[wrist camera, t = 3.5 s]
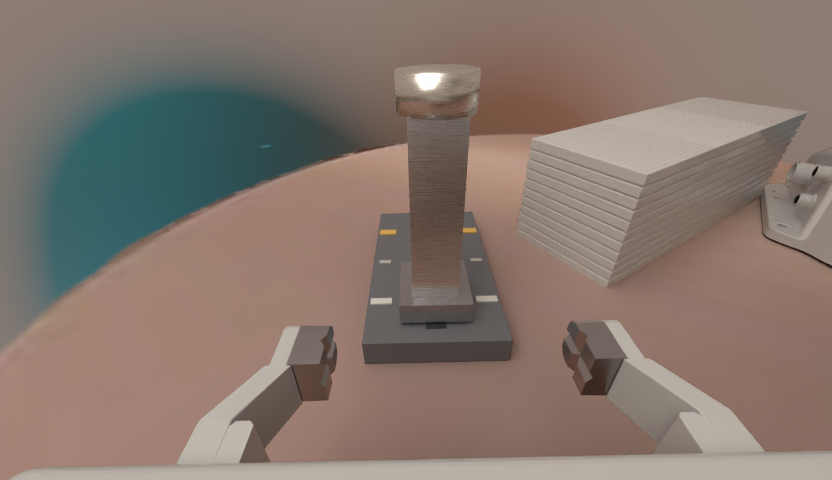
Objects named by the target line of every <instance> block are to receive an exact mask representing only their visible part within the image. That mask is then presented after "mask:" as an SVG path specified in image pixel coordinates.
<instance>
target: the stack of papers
mask: <svg viewBox="0 0 832 480" xmlns="http://www.w3.org/2000/svg"><path fill="white" fill-rule="evenodd" d="M807 113H808V112H806V111H799V110H791V109H784V108H776V107H770V106H763V105H755V104H748V103H741V102H733V101H727V100H719V99H712V98H704V97H699V98H695V99H691V100H687V101H683V102H678V103H674V104H670V105H666V106H662V107H658V108H654V109H650V110H646V111H642V112H638V113H634V114H630V115H626V116H622V117H617V118H613V119H610V120H605V121H601V122H597V123H593V124H589V125H585V126H581V127H577V128H573V129H569V130H565V131H561V132H557V133H552V134H548V135H544V136H540V137H536V138H532V139H531V146H530V148H532V150H530V152H529V158H531V159H530V160H528V164H527V167H528V168H529V169H527V170H526V176H525V177H527V179H525V183H524V186H526V187H525V188H524V189H523V195H524V196H523V197H522V201H521V203H522V204H523V205H521V207H520V212H522V213H519V220H520V221H518V226H517V227H518V228H519V229H517V232H516V235H518V236H520V237H521V238H523V239H525V240H526V241H528V242H530V243H531V244H533V245H535V246H536V247H538V248H540V249H541V250H543V251H545V252H546V253H548V254H550V255H551V256H553V257H555V258H556V259H558V260H560V261H561V262H563V263H565V264H566V265H568V266H570V267H571V268H573V269H575V270H576V271H578V272H580V273H581V274H583V275H585V276H587V277H588V278H590V279H592V280H593V281H595V282H597V283H598V284H600V285H602V286H603V287H605V288H607V287H609V286H611V285H612V284H614V283H616V282H617V281H619V280H621V279H623V278H624V277H626V276H628V275H629V274H631V273H633V272H634V271H636V270H638V269H639V268H641V267H643V266H644V265H646V264H648V263H650V262H651V261H653V260H655V259H656V258H658V257H660V256H661V255H663V254H665V253H666V252H668V251H670V250H671V249H673V248H675V247H677V246H678V245H680V244H682V243H683V242H685V241H687V240H688V239H690V238H692V237H693V236H695V235H697V234H699V233H700V232H702V231H704V230H705V229H707V228H709V227H710V226H712V225H714V224H715V223H717V222H719V221H720V220H722V219H724V218H726V217H727V216H729V215H731V214H732V213H734V212H736V211H737V210H739V209H741V208H742V207H744V206H746V205H747V204H749V203H751V202H753V201H754V200H756V199H758V198H759V197H760V195H761V192H762V191H763V190H764V188H765V185H766V184H767V183H768V181H769V179H770V178H769V177H771V176H772V174H773V172H774V171H773V170H774V169H776V167H777V165H778V164H779V163H777V162H779V161H780V160H781V158H782V154H784V153H785V151H786V149H787V147H786V146H788V145H789V144H790V142H791V140H792V139H791V138H792V137H794V135H795V134H796V132H797V131H796V129H798V128H799V127H800V125H801V123H802V122H800V121H802V120H804V118H805V116H806V114H807Z"/></svg>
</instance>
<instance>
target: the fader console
mask: <svg viewBox="0 0 832 480" xmlns="http://www.w3.org/2000/svg"><path fill="white" fill-rule="evenodd" d="M461 260H464V262H465V267H466V271H467V276H468V280H469V285H470V290H471V294H472V299H473V303H474V307H473V317H472V322H428V323H400V311H399V298H400V272H401V262H411V231H410V213H399V214H381V219H380V226H379V232H378V239H377V246H376V253H375V260H374V266H373V273H372V280H371V287H370V294H369V300H368V307H367V314H366V321H365V328H364V334H363V341H362V347H363V353H364V360H365V364H367V363H411V362H454V361H497V360H509V357H510V352H511V347H512V342H513V340H512V337H511V333H510V330H509V327H508V324H507V321H506V318H505V314H504V311H503V308H502V305H501V302H500V299H499V295H498V292H497V289H496V286H495V283H494V280H493V276H492V273H491V270H490V267H489V264H488V261H487V257H486V254H485V251H484V248H483V245H482V241H481V238H480V235H479V232H478V229H477V226H476V222H475V219H474V216H473V213H472V212H464V223H463V239H462V254H461Z"/></svg>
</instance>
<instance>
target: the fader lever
mask: <svg viewBox="0 0 832 480" xmlns="http://www.w3.org/2000/svg"><path fill="white" fill-rule="evenodd" d="M394 73H395V94H396V95H395V96H396V112H397V114H399V115H401V116H404V117H407V134H408V166H409V199H410V231H411V262H401V272H400V298H399V311H400V323H428V322H472V317H473V307H474V303H473V299H472V294H471V290H470V285H469V280H468V276H467V271H466V267H465V262H464V260H461V254H462V239H463V223H464V208H465V193H466V177H467V162H468V147H469V131H470V116H472V115H474V114H476V113H477V111H478V99H479V86H480V74H481V69H480V68H478V67H475V66H468V65H456V64H427V65H413V66H405V67H400V68H397V69H395V70H394Z"/></svg>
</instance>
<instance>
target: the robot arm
mask: <svg viewBox="0 0 832 480" xmlns="http://www.w3.org/2000/svg"><path fill="white" fill-rule="evenodd" d="M786 182H788V183H792V184H787V183H774V184H766V185H765V188H764V190H763V191H762V192H761V195H760V199H761V211H762V223H763V233H764V235H765V236H767V237H768V238H770V239H773V240H775V241H777V242H780V243H783V244H785V245H788V246H791V247H793V248H796V249H799V250H802V251H804V252H806V253H808V254H810V255H812V256H814V257H816V258H818V259H819V260H821V261H823V262H825V263H827V264H829V265H831V266H832V147H831V148H828V149H825V150H823V151H820V152H817V153H815V154H813V155H812V156H811V157H810V158H809V159H808V160H807V162H806V163H803V162H796V163H795V164H794V165H793V166H792V167H791V169H790V171H789V173H788V175H787V178H786ZM567 330H568V332H569V335H568V336H567V337H565V338H564V341H563V345H562V346H563V356H564V360H565V362H566V364H567V366H568V367H569V368H570V369H572V370H573V371H574V374H573V380H574V382H575V384H576V386H577V388H578V390H579V393H580V395H607V396H606V397H607V398H608V399H609V400H611V401H612V402H613V403H614V404H615V405H616V406H617V407H618V408H619V409H620V410H621V411H622V412H623V413H625V414H626V415H627V416H628V417H629V418H630V419H631V420H632V421H633V422H634V423H635V424H636V425H638V426H639V427H640V428H641V429H642V430H643V431H644V432H645V433H646V434H647V435H648V436H649V437H650V438H652V439H653V440H654V441H655V442H656V443H657V444H658V446H657V447H656V449H655V450H654V452H653V453H652V454H637V455H590V456H544V457H497V458H452V459H406V460H359V461H311V462H270V460H269V458H268V455H267V453H266V451H265V447H266V446H267V445H268V444H269V443H270V441H271V440H272V439H273V438H274V437H275V435H276V434H277V433H278V432H279V431H280V429H281V428H282V427H283V426H284V425H285V423H286V422H287V421H288V420H289V419H290V417H291V416H292V415H293V414H294V413H295V411H296V410H297V409H298V408H299V407H300V405H301V404H302V401H322V400H328V399H329V395H330V390H331V386H332V379H331V374H332V373H333V372H334V371H335V367H336V360H337V347H336V343H335V342H334V341H333V340H332V339H333V335H334V332H333V328H332V326H287V327H286V328H285V329H284V331H283V333H282V336H281V338H280V341H279V343H278V345H277V348H276V350H275V353H274V355H273V358H272V360H271V362H270V365H269V366H264V367H263V368H262V369H260V370H259V371H258V372H257V373H256V374H254V375H253V376H252V377H251V378H250V379H248V380H247V381H246V382H245V383H244V384H242V385H241V386H240V387H239V388H238V389H236V390H235V391H234V392H233V393H232V394H230V395H229V396H228V397H227V398H226V399H224V400H223V401H222V402H221V403H220V404H218V405H217V406H216V407H215V408H214V409H212V410H211V411H210V412H209V413H208V414H206V415H205V416H204V417H203V418H202V419H200V420H199V422H198V424H197V426H196V428H195V430H194V432H193V434H192V435H191V437H190V439H189V441H188V443H187V445H186V447H185V449H184V451H183V452H182V454H181V456H180V458H179V460H178V462H177V464H166V465H118V466H60V467H38V468H32V469H29V470H26V471H23V472H21V473H19V474H17V475H16V476H14V477H12V478H10V479H8V480H832V450H823V451H777V452H765V451H764V450H763V449H762V447H761V446H760V445H759V444H758V443H757V441H756V440H755V439H754V438H753V437H752V435H751V434H750V433H749V432H748V430H747V429H746V428H745V427H744V426H743V424H742V423H741V422H740V421H739V419H738V418H737V417H736V416H735V415H734V413H733V412H732V411H731V410H730V409H728V408H727V407H725V406H724V405H722V404H720V403H719V402H717V401H716V400H714V399H713V398H711V397H709V396H708V395H706V394H705V393H703V392H702V391H700V390H698V389H697V388H695V387H694V386H692V385H691V384H689V383H687V382H686V381H684V380H683V379H681V378H680V377H678V376H676V375H675V374H673V373H672V372H670V371H669V370H667V369H665V368H664V367H662V366H661V365H659V364H657V363H656V362H654V361H653V360H651V359H645V358H644V356H643V355H642V353H641V352H640V350H639V349H638V348H637V346H636V345H635V343H634V342H633V341H632V339H631V338H630V336H629V335H628V333H627V332H626V331H625V329H624V328H623V326H622V325H621V323H620V322H618V321H617V320H601V321H599V320H597V321H571V322H570V323H569V325H568V328H567Z"/></svg>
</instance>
